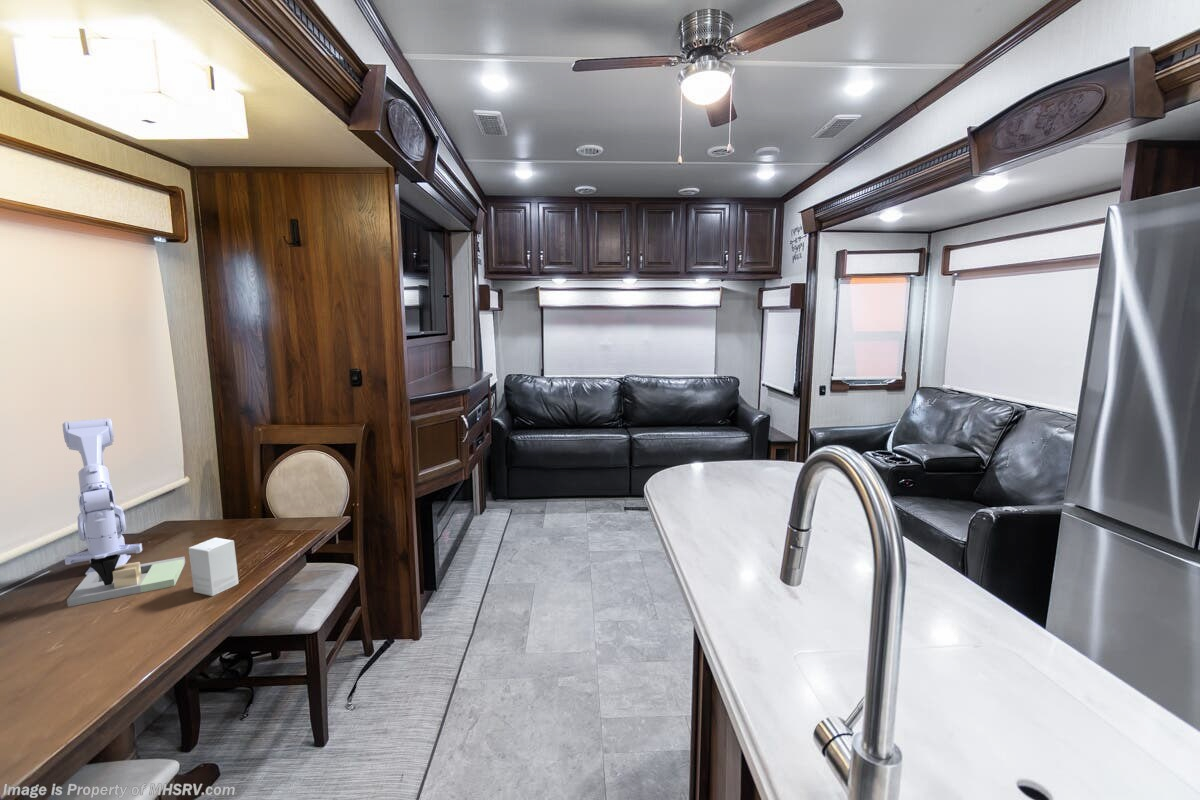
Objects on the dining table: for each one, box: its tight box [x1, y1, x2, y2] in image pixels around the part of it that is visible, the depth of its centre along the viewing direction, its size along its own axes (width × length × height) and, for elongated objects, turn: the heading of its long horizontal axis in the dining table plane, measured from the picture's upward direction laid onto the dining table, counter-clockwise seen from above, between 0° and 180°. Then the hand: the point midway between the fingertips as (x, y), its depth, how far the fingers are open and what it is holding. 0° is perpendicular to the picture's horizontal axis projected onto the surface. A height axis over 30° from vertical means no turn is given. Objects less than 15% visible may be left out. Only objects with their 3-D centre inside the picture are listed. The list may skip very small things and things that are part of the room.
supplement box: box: [188, 537, 239, 597], centre depth 138 cm, size 7×7×13 cm
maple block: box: [113, 561, 142, 588], centre depth 137 cm, size 4×4×4 cm
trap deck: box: [66, 556, 186, 608], centre depth 141 cm, size 16×21×2 cm
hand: (109, 583), depth 135 cm, fingers closed
